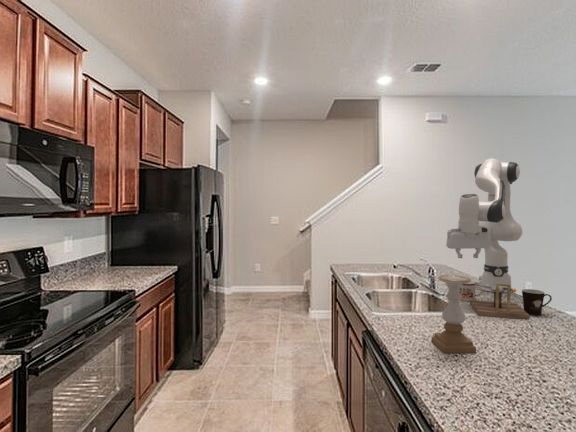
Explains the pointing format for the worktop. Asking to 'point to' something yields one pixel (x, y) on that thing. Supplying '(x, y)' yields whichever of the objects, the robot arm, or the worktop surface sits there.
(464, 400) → the worktop surface
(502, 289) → the grey rod with dome
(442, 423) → the worktop surface
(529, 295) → the coffee mug
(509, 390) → the worktop surface
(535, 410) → the worktop surface
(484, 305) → the stand
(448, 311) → the candle holder
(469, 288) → the teacup with lid
